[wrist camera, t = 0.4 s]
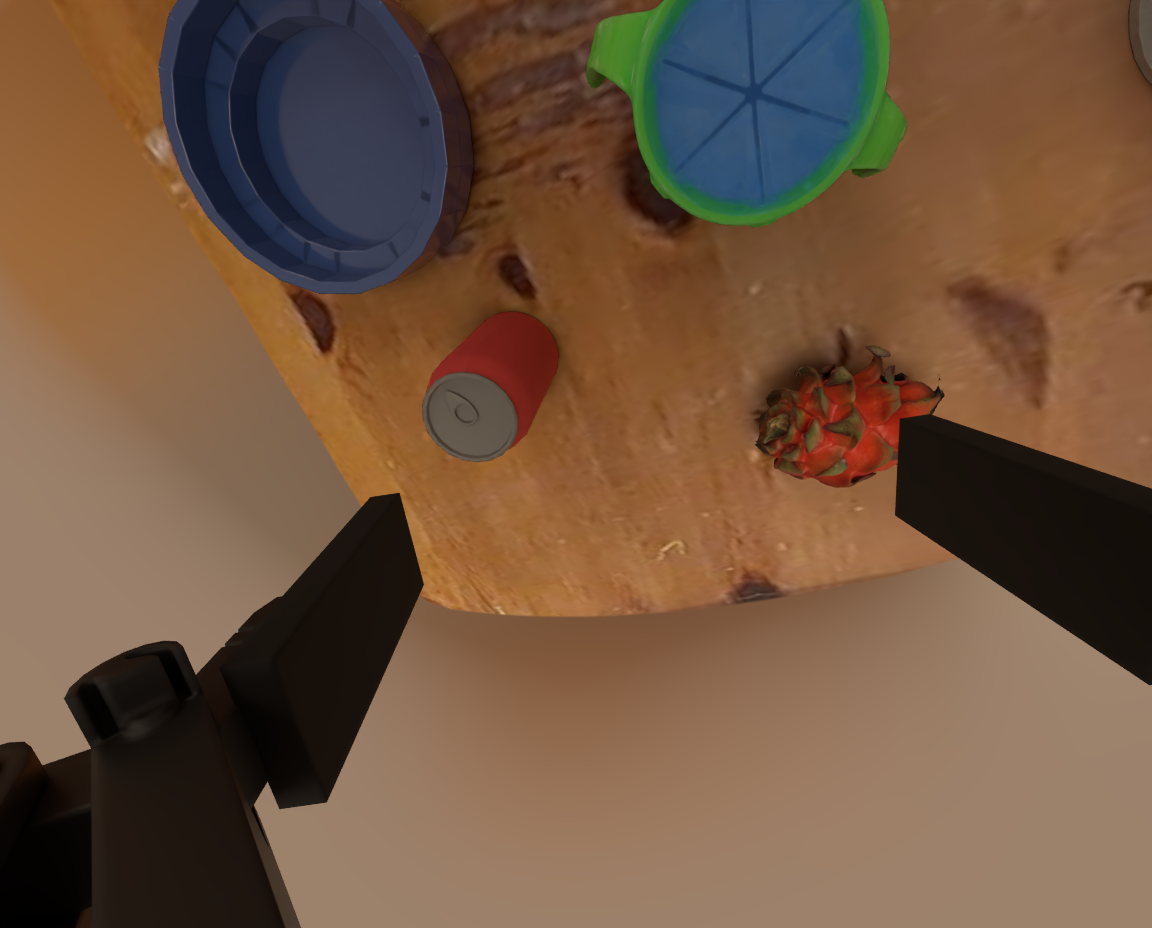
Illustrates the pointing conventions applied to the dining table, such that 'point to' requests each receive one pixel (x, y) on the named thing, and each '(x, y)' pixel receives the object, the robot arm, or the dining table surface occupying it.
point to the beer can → (490, 387)
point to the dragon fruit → (842, 421)
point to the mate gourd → (1141, 35)
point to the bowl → (318, 135)
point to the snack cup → (753, 99)
